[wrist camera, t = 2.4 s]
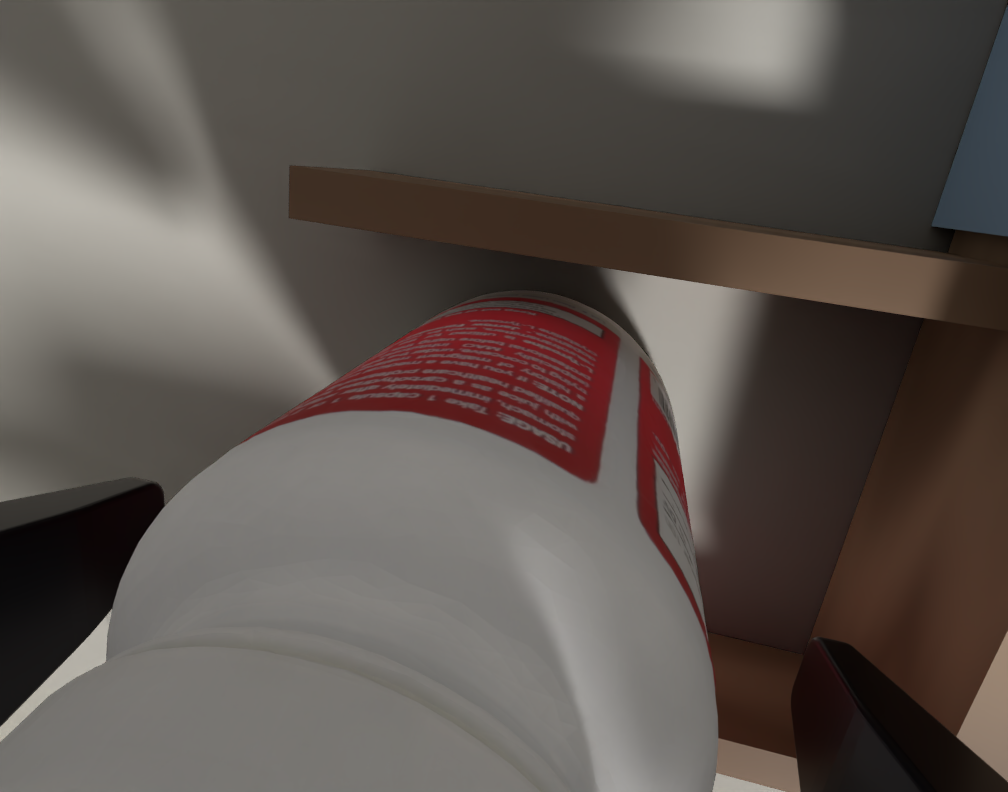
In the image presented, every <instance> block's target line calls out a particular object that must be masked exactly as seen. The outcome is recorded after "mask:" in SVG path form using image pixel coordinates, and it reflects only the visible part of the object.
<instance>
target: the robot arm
mask: <svg viewBox="0 0 1008 792" xmlns="http://www.w3.org/2000/svg"><path fill="white" fill-rule="evenodd" d="M164 507H165V505H164V492H163V489H162V487H161V486H160V485H159V484H158V483H156V482H152V481H148V480H144V479H139V478H133V477H130V478H124V479H119V480H114V481H108V482H103V483H98V484H93V485H88V486H82V487H77V488H72V489H67V490H61V491H56V492H51V493H46V494H40V495H35V496H30V497H25V498H19V499H14V500H9V501H4V502H0V727H1V726H2V725H3V724H4V723H5V722H6V721H7V720H8V719H9V717H10V716H11V715H12V714H13V713H14V712H15V711H16V710H17V709H18V708H19V707H20V706H21V705H22V704H23V703H24V702H25V701H26V700H27V699H28V698H29V697H30V696H31V695H32V694H33V693H34V692H35V691H36V690H37V689H38V688H39V687H40V686H41V685H42V684H43V683H44V682H45V681H46V680H47V679H48V678H49V677H50V676H51V675H52V674H53V673H54V672H55V671H56V670H57V669H58V667H59V666H60V665H61V664H62V663H63V662H64V661H65V660H66V659H67V658H68V657H69V656H70V655H71V654H72V653H73V652H74V651H75V650H76V649H77V648H78V647H79V646H80V645H81V644H82V643H83V642H84V641H85V639H86V638H87V637H88V636H89V635H90V634H91V633H92V632H93V631H94V629H95V628H96V627H97V626H98V625H99V624H100V622H101V621H102V620H103V619H104V618H105V616H106V615H107V614H108V613H109V612H110V610H111V609H112V608H113V603H114V600H115V597H116V593H117V590H118V587H119V584H120V581H121V578H122V576H123V574H124V572H125V569H126V567H127V565H128V563H129V561H130V559H131V557H132V555H133V553H134V551H135V549H136V547H137V544H138V543H139V541H140V540H141V538H142V537H143V535H144V534H145V532H146V531H147V529H148V528H149V526H150V525H151V524H152V522H153V521H154V520H155V518H156V517H157V516H158V514H159V513H160V512H161V510H162V509H163V508H164ZM791 714H792V723H793V732H794V740H795V749H796V758H797V767H798V775H799V784H800V792H1008V781H1007V780H1005V779H1004V778H1003V777H1002V776H1001V775H1000V774H999V773H997V772H996V771H995V770H994V769H993V768H992V767H991V766H989V765H988V764H987V763H986V762H985V761H984V760H983V759H981V758H980V757H979V756H978V755H977V754H976V753H975V752H973V751H972V750H971V749H970V748H969V747H968V746H966V745H965V744H964V743H963V742H962V741H961V740H960V739H958V738H957V737H956V736H955V735H954V734H953V733H952V732H950V731H949V730H948V729H947V728H946V727H945V726H944V725H942V724H941V723H940V722H939V721H938V720H937V719H936V718H934V717H933V716H932V715H931V714H930V713H929V712H927V711H926V710H925V709H924V708H923V707H922V706H921V705H919V704H918V703H917V702H916V701H915V700H914V699H913V698H911V697H910V696H909V695H908V694H907V693H906V692H905V691H903V690H902V689H901V688H900V687H899V686H898V685H896V684H895V683H894V682H893V681H892V680H891V679H890V678H888V677H887V676H886V675H885V674H884V673H883V672H882V671H880V670H879V669H878V668H877V667H876V666H875V665H874V664H872V663H871V662H870V661H869V660H868V659H867V658H866V657H864V656H863V655H862V654H861V653H860V652H859V651H857V650H856V649H855V648H854V647H853V646H852V645H850V644H848V643H846V642H842V641H837V640H833V639H828V638H824V637H819V636H817V637H814V638H812V639H811V641H810V642H809V643H808V646H807V648H806V651H805V654H804V657H803V659H802V662H801V665H800V668H799V671H798V673H797V676H796V679H795V682H794V685H793V688H792V693H791Z"/></svg>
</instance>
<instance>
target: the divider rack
mask: <svg viewBox="0 0 1008 792" xmlns="http://www.w3.org/2000/svg"><path fill="white" fill-rule="evenodd" d="M289 218H291V219H298V220H304V221H310V222H317V223H323V224H329V225H336V226H342V227H349V228H355V229H361V230H368V231H374V232H380V233H387V234H393V235H399V236H406V237H412V238H418V239H425V240H431V241H438V242H444V243H450V244H457V245H463V246H469V247H476V248H482V249H488V250H495V251H501V252H507V253H514V254H520V255H527V256H533V257H539V258H546V259H552V260H558V261H565V262H571V263H577V264H584V265H590V266H596V267H603V268H609V269H615V270H622V271H628V272H635V273H641V274H647V275H654V276H660V277H666V278H673V279H679V280H685V281H692V282H698V283H704V284H711V285H717V286H724V287H730V288H736V289H743V290H749V291H755V292H762V293H768V294H774V295H781V296H787V297H793V298H800V299H806V300H812V301H819V302H825V303H832V304H838V305H844V306H851V307H857V308H863V309H870V310H876V311H882V312H889V313H895V314H901V315H908V316H914V317H921V318H924V320H923V323H922V326H921V329H920V331H919V334H918V337H917V340H916V343H915V345H914V348H913V351H912V354H911V357H910V359H909V362H908V365H907V368H906V371H905V373H904V376H903V379H902V382H901V385H900V387H899V390H898V393H897V396H896V399H895V401H894V404H893V407H892V410H891V413H890V415H889V418H888V421H887V424H886V427H885V429H884V432H883V435H882V438H881V441H880V443H879V446H878V449H877V452H876V455H875V457H874V460H873V463H872V466H871V469H870V471H869V474H868V477H867V480H866V482H865V485H864V488H863V491H862V494H861V496H860V499H859V502H858V505H857V508H856V510H855V513H854V516H853V519H852V522H851V524H850V527H849V530H848V533H847V536H846V538H845V541H844V544H843V547H842V550H841V552H840V555H839V558H838V561H837V564H836V566H835V569H834V572H833V575H832V578H831V580H830V583H829V586H828V589H827V592H826V594H825V597H824V600H823V603H822V606H821V608H820V611H819V614H818V617H817V620H816V622H815V625H814V628H813V631H812V634H811V636H810V639H809V642H810V641H811V639H812V638H814V637H817V636H819V637H824V638H828V639H833V640H837V641H842V642H846V643H848V644H850V645H852V646H853V647H854V648H855V649H856V650H857V651H859V652H860V653H861V654H862V655H863V656H864V657H866V658H867V659H868V660H869V661H870V662H871V663H872V664H874V665H875V666H876V667H877V668H878V669H879V670H880V671H882V672H883V673H884V674H885V675H886V676H887V677H888V678H890V679H891V680H892V681H893V682H894V683H895V684H896V685H898V686H899V687H900V688H901V689H902V690H903V691H905V692H906V693H907V694H908V695H909V696H910V697H911V698H913V699H914V700H915V701H916V702H917V703H918V704H919V705H921V706H922V707H923V708H924V709H925V710H926V711H927V712H929V713H930V714H931V715H932V716H933V717H934V718H936V719H937V720H938V721H939V722H940V723H941V724H942V725H944V726H945V727H946V728H947V729H948V730H949V731H950V732H952V733H953V734H954V735H955V736H956V737H957V738H958V739H960V740H961V741H962V742H963V743H964V744H965V745H966V746H968V747H969V748H970V749H971V750H972V751H973V752H975V753H976V754H977V755H978V756H979V757H980V758H981V759H983V760H984V761H985V762H986V763H987V764H988V765H989V766H991V767H992V768H993V769H994V770H995V771H996V772H997V773H999V774H1000V775H1001V776H1002V777H1003V778H1004V779H1005V780H1007V781H1008V4H1007V7H1006V10H1005V13H1004V16H1003V19H1002V22H1001V25H1000V27H999V30H998V33H997V36H996V39H995V42H994V45H993V48H992V51H991V54H990V57H989V59H988V62H987V65H986V68H985V71H984V74H983V77H982V80H981V83H980V86H979V88H978V91H977V94H976V97H975V100H974V103H973V106H972V109H971V112H970V115H969V118H968V120H967V123H966V126H965V129H964V132H963V135H962V138H961V141H960V144H959V147H958V149H957V152H956V155H955V158H954V161H953V164H952V167H951V170H950V173H949V176H948V179H947V181H946V184H945V187H944V190H943V193H942V196H941V199H940V202H939V205H938V208H937V211H936V213H935V216H934V219H933V222H932V225H931V226H934V227H942V228H949V229H956V231H955V234H954V236H953V239H952V242H951V245H950V248H949V250H948V253H945V252H938V251H931V250H924V249H917V248H910V247H903V246H896V245H889V244H882V243H875V242H868V241H861V240H854V239H847V238H840V237H833V236H826V235H819V234H812V233H805V232H797V231H790V230H783V229H776V228H769V227H762V226H755V225H748V224H741V223H734V222H727V221H720V220H713V219H706V218H699V217H692V216H685V215H678V214H671V213H664V212H657V211H650V210H643V209H636V208H629V207H622V206H615V205H608V204H601V203H594V202H587V201H580V200H573V199H566V198H559V197H552V196H545V195H538V194H531V193H524V192H517V191H510V190H502V189H495V188H488V187H481V186H474V185H467V184H460V183H453V182H446V181H439V180H432V179H425V178H418V177H411V176H404V175H397V174H390V173H383V172H376V171H369V170H356V169H339V168H323V167H307V166H290V175H289ZM707 634H708V642H709V645H710V648H711V656H712V661H713V665H714V670H715V678H716V692H715V697H716V706H717V714H718V754H717V767H716V773H719V774H723V775H726V776H730V777H734V778H738V779H741V780H745V781H749V782H752V783H756V784H760V785H764V786H767V787H771V788H775V789H778V790H782V791H786V792H800V784H799V775H798V767H797V758H796V749H795V740H794V732H793V723H792V714H791V693H792V688H793V685H794V682H795V679H796V676H797V673H798V671H799V668H800V665H801V662H802V659H803V657H804V655H802V654H798V653H793V652H789V651H785V650H781V649H776V648H772V647H768V646H764V645H760V644H755V643H751V642H747V641H743V640H739V639H734V638H730V637H726V636H722V635H717V634H713V633H709V632H707ZM809 642H808V643H809ZM807 646H808V645H807ZM806 648H807V647H806ZM805 651H806V650H805ZM804 654H805V653H804Z"/></svg>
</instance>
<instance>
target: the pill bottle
mask: <svg viewBox="0 0 1008 792" xmlns="http://www.w3.org/2000/svg"><path fill="white" fill-rule="evenodd" d="M715 692H716V678H715V670H714V665H713V661H712V656H711V648H710V645H709V642H708V634H707V628H706V622H705V617H704V609H703V602H702V596H701V591H700V585H699V580H698V570H697V564H696V557H695V550H694V544H693V538H692V532H691V526H690V519H689V513H688V506H687V499H686V492H685V486H684V479H683V473H682V465H681V459H680V451H679V443H678V435H677V429H676V425H675V419H674V414H673V410H672V407H671V403H670V399H669V396H668V394H667V391H666V389H665V386H664V384H663V381H662V379H661V377H660V375H659V373H658V371H657V370H656V368H655V366H654V364H653V363H652V361H651V360H650V358H649V357H648V356H647V354H646V353H645V352H644V351H643V350H642V348H641V347H640V346H639V345H638V344H637V343H636V341H635V340H634V339H633V338H632V337H631V336H630V335H629V334H628V333H627V332H626V331H625V330H624V329H622V328H621V327H620V326H619V325H618V324H616V323H615V322H614V321H612V320H611V319H609V318H608V317H606V316H605V315H603V314H602V313H600V312H598V311H596V310H595V309H593V308H590V307H588V306H586V305H584V304H582V303H579V302H577V301H574V300H572V299H569V298H566V297H563V296H559V295H556V294H551V293H546V292H540V291H530V290H512V291H502V292H495V293H489V294H485V295H481V296H478V297H475V298H472V299H469V300H467V301H464V302H462V303H459V304H457V305H455V306H453V307H451V308H449V309H447V310H445V311H443V312H441V313H439V314H437V315H436V316H434V317H433V318H431V319H429V320H428V321H426V322H425V323H423V324H422V325H420V326H418V327H417V328H416V329H414V330H412V331H411V332H409V333H408V334H406V335H405V336H403V337H402V338H400V339H399V340H397V341H396V342H394V343H393V344H391V345H389V346H388V347H386V348H385V349H383V350H382V351H380V352H379V353H377V354H376V355H374V356H373V357H371V358H370V359H368V360H366V361H365V362H363V363H361V364H360V365H359V366H357V367H356V368H354V369H353V370H351V371H350V372H348V373H347V374H345V375H344V376H342V377H341V378H339V379H338V380H336V381H335V382H333V383H332V384H330V385H329V386H327V387H326V388H324V389H323V390H321V391H320V392H318V393H316V394H315V395H313V396H312V397H310V398H309V399H307V400H306V401H304V402H302V403H301V404H299V405H298V406H296V407H295V408H293V409H291V410H290V411H288V412H287V413H285V414H284V415H282V416H281V417H279V418H277V419H276V420H274V421H273V422H271V423H270V424H268V425H267V426H265V427H264V428H262V429H261V430H259V431H258V432H256V433H255V434H253V435H252V436H250V437H249V438H247V439H246V440H244V441H243V442H241V443H240V444H239V445H237V446H236V447H234V448H232V449H230V450H229V451H228V452H227V453H226V454H225V455H223V456H222V457H221V458H220V459H218V460H217V461H216V462H214V463H213V464H212V465H210V466H209V467H207V468H206V469H205V470H203V471H202V472H201V473H199V474H198V475H197V476H196V477H194V478H193V479H192V480H190V481H189V482H188V483H187V484H186V485H185V486H184V487H183V488H182V489H181V490H180V491H179V492H178V493H177V494H176V495H175V496H174V497H173V498H172V499H171V500H170V502H169V503H168V504H167V505H166V506H165V507H164V508H163V509H162V510H161V512H160V513H159V514H158V516H157V517H156V518H155V520H154V521H153V522H152V524H151V525H150V526H149V528H148V529H147V531H146V532H145V534H144V535H143V537H142V538H141V540H140V541H139V543H138V544H137V547H136V549H135V551H134V553H133V555H132V557H131V559H130V561H129V563H128V565H127V567H126V569H125V572H124V574H123V576H122V578H121V581H120V584H119V587H118V590H117V593H116V597H115V600H114V603H113V608H112V614H111V619H110V624H109V630H108V636H107V654H106V662H105V663H104V664H102V665H100V666H98V667H95V668H93V669H92V670H90V671H88V672H86V673H84V674H82V675H80V676H78V677H77V678H75V679H73V680H72V681H70V682H69V683H67V684H66V685H64V686H63V687H61V688H60V689H58V690H57V691H56V692H54V693H53V694H51V695H50V696H48V697H47V698H46V699H45V700H44V701H43V702H42V703H41V704H40V705H39V706H38V707H37V708H36V709H35V710H34V711H33V712H32V713H31V714H30V715H29V716H28V717H26V718H25V719H24V720H23V721H22V722H21V723H20V724H19V725H18V726H17V727H16V728H15V729H14V730H13V731H12V732H11V733H10V734H9V735H8V736H7V737H5V738H4V739H3V740H2V741H1V742H0V792H712V790H713V785H714V781H715V776H716V767H717V754H718V714H717V706H716V697H715Z"/></svg>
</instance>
